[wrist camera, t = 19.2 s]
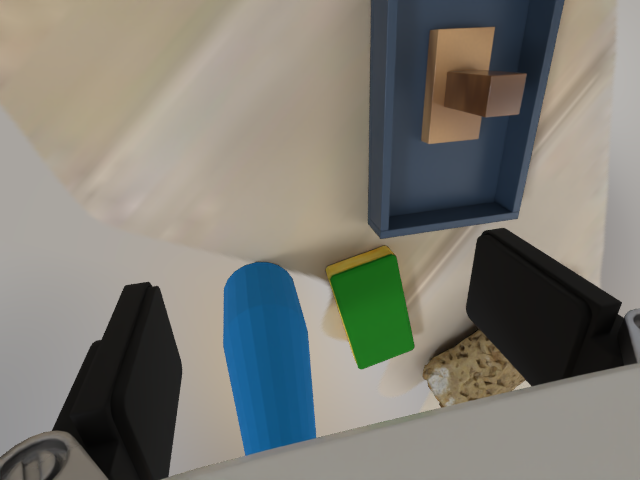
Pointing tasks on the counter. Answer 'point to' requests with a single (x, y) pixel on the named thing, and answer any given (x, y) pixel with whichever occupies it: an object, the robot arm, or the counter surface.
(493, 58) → the baking dish
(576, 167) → the counter surface
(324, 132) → the counter surface
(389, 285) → the dish sponge
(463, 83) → the two-tone wood block
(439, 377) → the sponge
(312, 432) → the bottle
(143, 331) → the robot arm
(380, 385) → the counter surface
